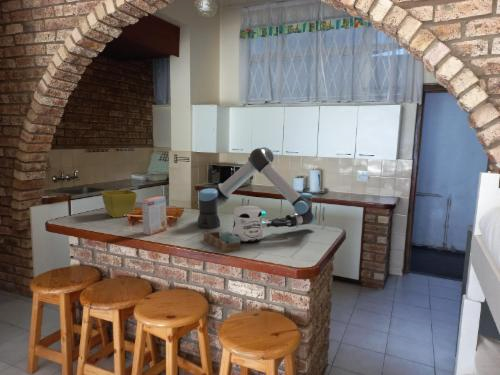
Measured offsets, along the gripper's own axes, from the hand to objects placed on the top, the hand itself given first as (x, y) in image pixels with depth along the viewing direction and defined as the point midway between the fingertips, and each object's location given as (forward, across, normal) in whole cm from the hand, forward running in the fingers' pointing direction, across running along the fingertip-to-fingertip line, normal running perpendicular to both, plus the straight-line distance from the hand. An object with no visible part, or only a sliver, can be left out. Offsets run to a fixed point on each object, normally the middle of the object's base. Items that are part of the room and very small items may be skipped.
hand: (261, 225), depth 203 cm
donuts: (-12, +22, -8) cm, 26 cm away
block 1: (+20, +6, -8) cm, 22 cm away
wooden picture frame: (+26, +1, -7) cm, 27 cm away
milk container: (+9, +1, -8) cm, 12 cm away
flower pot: (+56, +96, -8) cm, 112 cm away
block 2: (+20, -3, -8) cm, 21 cm away
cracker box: (+48, +42, -8) cm, 65 cm away
